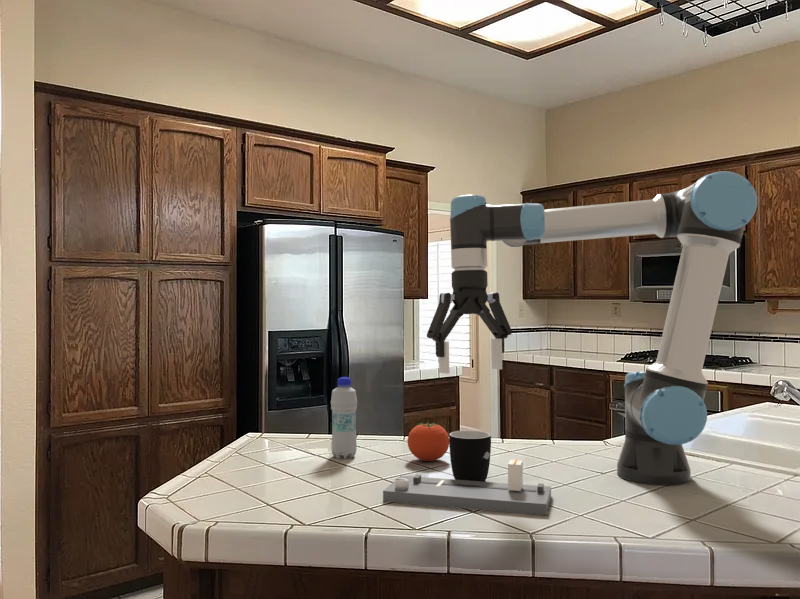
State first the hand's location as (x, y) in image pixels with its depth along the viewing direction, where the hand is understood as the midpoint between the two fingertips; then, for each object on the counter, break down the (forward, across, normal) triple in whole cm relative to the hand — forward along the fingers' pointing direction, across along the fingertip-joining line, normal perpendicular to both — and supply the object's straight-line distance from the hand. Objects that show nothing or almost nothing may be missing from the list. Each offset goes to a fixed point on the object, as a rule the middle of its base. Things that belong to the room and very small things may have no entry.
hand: (471, 371), depth 139 cm
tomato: (+24, -4, -24) cm, 34 cm away
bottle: (+24, +12, -38) cm, 47 cm away
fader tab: (+22, -1, +12) cm, 25 cm away
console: (+24, +6, +7) cm, 26 cm away
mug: (+24, -3, -5) cm, 25 cm away
